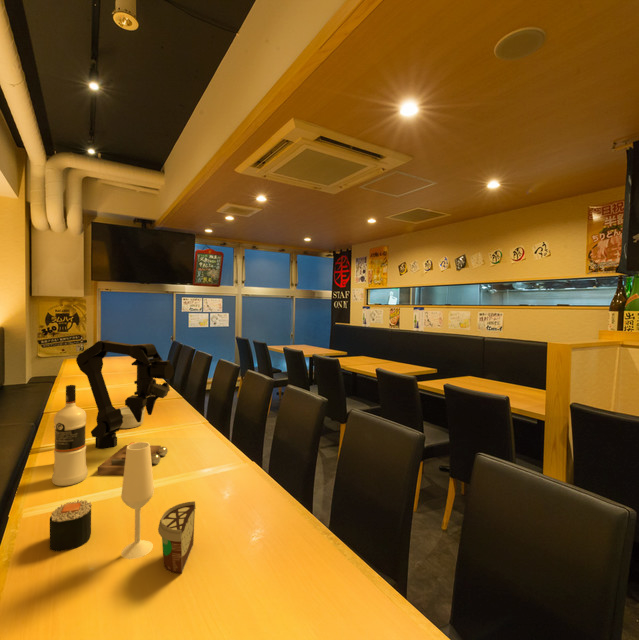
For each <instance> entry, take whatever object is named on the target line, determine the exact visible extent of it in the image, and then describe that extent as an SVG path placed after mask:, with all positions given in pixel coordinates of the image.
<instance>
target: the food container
mask: <svg viewBox="0 0 639 640" xmlns="http://www.w3.org/2000/svg"><path fill="white" fill-rule="evenodd" d="M195 516H196V501H186V502H182V503H178V504H176V505H174V506H172V507H170V508H168V509H167V510H166V511H165V512H163V514H162V515H161V518H160V520H159V525H158V526H157V527H158V528H157V532H158V535H160V537H161V544H162V557H163V558H162V559H163V567H164V569H165V570H166V571H168V572H170V573H173V574H175V575H176V574H177V575H180V574H181V575H182V574H183V572H184V570H185V567H186V565H187V563H188V560H189V557H190V554H191V552H192V550H193V547H194V540H195V539H194V538H195V537H194V535H195Z"/></svg>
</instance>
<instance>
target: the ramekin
mask: <svg viewBox="0 0 639 640" xmlns="http://www.w3.org/2000/svg"><path fill="white" fill-rule="evenodd" d="M117 409H120V410H121V414H122V416H123V418H122V419H123V423H122V425H121V426H120V429H132V428H137V427H139V426H141V425H142V424H143V423H144V418H145V412H146V407H144V408H143V411H142V418H141V422H137V421H136V419H135V417H134V415H133V413H132V412H131V410H130V409H129V407H127V406H122V407H119V408H117Z"/></svg>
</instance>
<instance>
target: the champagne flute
mask: <svg viewBox="0 0 639 640" xmlns="http://www.w3.org/2000/svg"><path fill="white" fill-rule="evenodd" d="M129 444H130V443H129ZM129 444H128V446H127V450H126V459H125V468H124V475H123V477H122V488H121V496H120V497H121V500H122V502H123V503H124V504H125V505H126V506H128V507H130V509H133V510H134V541H133V542H131V543H129V544H127V545H126V546H125V547H124V548H123V549H122V550H121V552H120V555H121V557H122V558H124V559H127V560H134V559H140V558H142V557H145V556H146V555H148V554H149V553H150V552H151V551H152V550H153V547H154V544H153V542H151V541H150V540H144V539H141V527H142V526H141V525H142V524H141V519H142V518H141V513H142V512H141V511H142V508H143V507H145V505H146V504H147V503H149V502H150V500H151V499H152V497H153V495H154V494H155V493H154V492H155V486H154V485H155V484H154V475H153V464H152V461H151V450H150V445H151V444H150V442H148V441H139V442H134V443H133V444H130V445H129Z"/></svg>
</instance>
